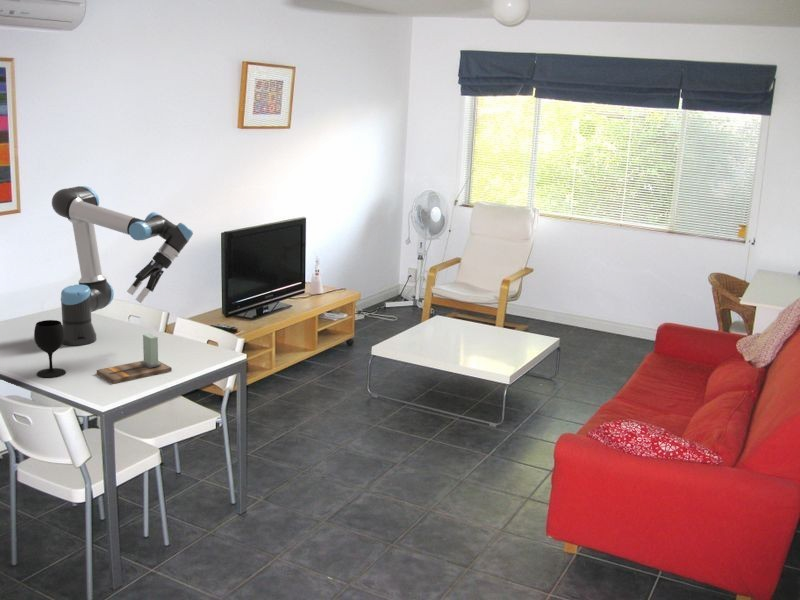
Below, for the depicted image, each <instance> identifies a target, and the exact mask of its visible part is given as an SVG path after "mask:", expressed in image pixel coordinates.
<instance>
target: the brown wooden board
mask: <svg viewBox="0 0 800 600" xmlns="http://www.w3.org/2000/svg"><path fill="white" fill-rule="evenodd" d="M141 361H142V360H139V361H136V362H135V361H134V362H129V363H124V364H120V365H115V366H114V365H113V366H108V367H105V368H99V369H96V374H97V375H98V376H99V377H102V378H103V379H105V380H106V381H108V382H110V383H111V384H113V385H115V384H118V383H123V382H128V381H133V380H139V379H141V378H142V379H143V378H146V377H153V376H156V375H161V374H165V373H169V372H172V370H173V369H172V367H171V366H170V365H167V364H165V363H164V362H161V361H159V360H158V362H159V363H161V366H157V367H152V368H149V367H147V366H145V365H143V364H141Z"/></svg>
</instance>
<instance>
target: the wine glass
mask: <svg viewBox="0 0 800 600" xmlns="http://www.w3.org/2000/svg"><path fill="white" fill-rule="evenodd" d="M33 331H34V332H33V333H34V334H33V337H34V338H33V339H34V342H35V344H36V346H37V347H38V348H39V349H40V350H41V351H43V352H44V353H45V354H47V355H48V361H49V364H48V365H49V368H44V369H42V370H41V369H40V370H39V371H37V373H36V376H37V377H38V378H42V379H52V378H53V379H55V378H59V377H62V376H64V375H65V374H66V373H67V371H66V370H65V369H64V368H57V367H54V366H53V354H54V353H55V352H56V351H58V350H59V348H61V346H62V345H63V344H62V343H63V340H64V330H63V326H62V322H61V321H60V320H58V319H57V320H55V319H47V320H41V321H40V320H39V321H38V322H36V323H35V325H34V330H33Z"/></svg>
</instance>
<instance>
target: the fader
mask: <svg viewBox="0 0 800 600" xmlns="http://www.w3.org/2000/svg"><path fill="white" fill-rule="evenodd" d="M158 340H159V339H158V336H156V335H154V334H151V333H147V334H145V333H144V334H142V346H143V347H142V349H143V350H142V351H143V360H140V361H141V364H143V365H145V366H147V367H149V368H152V367H157V366H161V363H159V362H158V361H159V342H158Z"/></svg>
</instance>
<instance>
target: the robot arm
mask: <svg viewBox="0 0 800 600" xmlns="http://www.w3.org/2000/svg"><path fill="white" fill-rule="evenodd" d="M51 207H52V210H53V211H54V212H55V213H56V214H57V215H58V216H61V217H63V218H65V219H67V221H69V222H71V224H72V229H73V235H74V241H75V246H76V247H75V248H76V252H77V259H78V264H79V271H80V276H81V277H80V279H79V280H78V284H73V285H68V286H66V287H64V288H63V289H62V290H61V293H60V294H61V295H60V302H61V304H60V306H61V320H62V322H61V324H62V326H63V330H64V340H63V343H62V345H64V346H65V345H66V346H83V345H89V344H92V343H95V342H96V341H97V333H96V331H95V328H94V325H93V323H92V313H93V312H96V311H99V310H102V309H103V308H106V307H107V306H109V305H110V304H111V303H112V301H113V299H114V294H115V293H114V288H113V286H112V285H111V284H110V282H108V280H107V277H106V276H105V275H103V272H102V268H101V267H102V266H101V260H100V255H99V248H98V242H97V235H96V231H95V229H96V228H95V225H96V226H100V227H101V228H102V227H103V228H106V229H109V230H111V231H116V232H118V233H122V234H124V235H125V234H126V235H129V237H131V238H132V239H133V240H135V241H146V240H148V239H150V238H153V237H157V236H158V237H160V238H161V239H164V240H165V241H164V242H163V243H162V244H161V246H160V247H159V248H158V251H157V252H155V253H154V255H153V257H152V259H151V260H150V261H149V262H148V264H146V266H144V267H143V268H142V269H141V270H140V271H139V272H138V273H137V274H136V275H135V276H134V278H135V280H134V281H133V282H132V283H131V285H130V286H129V288H127V290H126V292H127V293H128V294H129V295H131V296H133V295H134V294H135V293H136V291H137V290H138V289H139V288H140V287H141V285H142V283H143V281H144V280H146V279H147V278H149V279H148V281H147V283H146V286H144V287H143V289H142V290H141V291H140V292H139V294H138V295H137V297H136V298H135V299H134V300H136V301H137V302H138V303H140V304H142V302H143V301H144V300H146V299H145V298H146V297H147V296H148V294H149V293H150V292H154V290H155V288H156V286H157V285H158V282H159V280H160V278H161V277H162V275H163V274H164V272H165V271H164V270H163V269H166V270H167V269H169V268H170V266H171V265H172V263H173V262H174V261H175V259H176V258H178V257H179V254H180V253H181V251H182V250H183V249H184V248H185V246H186V245H187V244H188V242H189V241H190V239H191V238H192V236H193V234H194V232H193V230H192V229H191V228H190V227H189V226H187V225H186V224H184V223H182V222H179V223H177V225H176V224H174V223H172V222H171V221H170V220H168V219H167V218H165V217H164V216H163V215H161V214H159V213H158V212H155V211H152V212H150V213H149V214H148V215H147V216H146V217H145V219H140V218H137V217H134V216H131V215H129V214H126V213H121V212H118V211H115V210H112V209H110V208H106V207H102V206H100V199H99V195H98V194H97V192H96V190H93V189H92V188H91V187H89V186H85V185H83V186H81V185H80V186H79V185H78V186H74V187H68V188H62V189H59V190H58V191H56V192H55V193H54V194H53V196H52V199H51Z"/></svg>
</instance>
